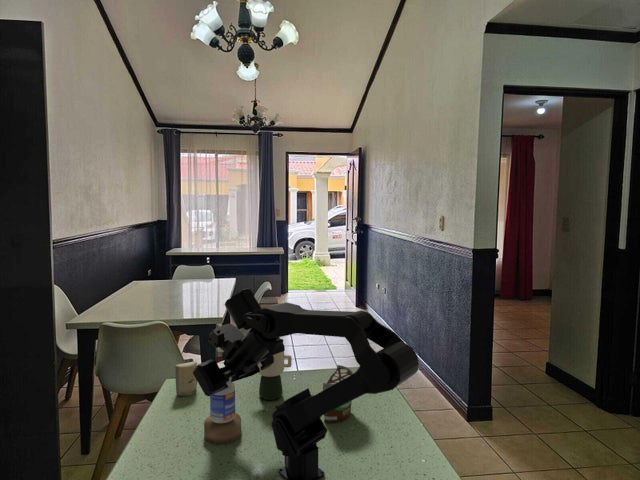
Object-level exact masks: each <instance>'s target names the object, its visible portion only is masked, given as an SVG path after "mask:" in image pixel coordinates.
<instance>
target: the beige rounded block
mask: <svg viewBox="0 0 640 480" xmlns="http://www.w3.org/2000/svg"><path fill="white" fill-rule="evenodd" d="M197 365H198V362H197V361H191V362H186V363H177V364H176V365H175V390H176V392H175V393H176V396H177V397H186V396H187V397H188V396H192V395H193V394H194V393H196V392H197V387H198V386H197V385H198V382H197V380H196V378H195V376H194V374H193V370H194V369H195V367H196V366H197Z"/></svg>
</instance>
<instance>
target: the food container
mask: <svg viewBox="0 0 640 480" xmlns="http://www.w3.org/2000/svg"><path fill="white" fill-rule="evenodd" d="M354 373H355V372H353V370H352V369H351V368H350V367H347V366H344V365H340V364H336V369H335V371H334V372H333V373H332V374H331V376H330V377H329V378H328V381H327V382H325V383H324V382H323V383H322V391H323V390H325V389H327V388H329V387H331V386H332V385H334V384H336V383H338V382H340V381H341V380H343V379H345V378H347V377H349V376H350V375H352V374H354ZM352 401H353V400H352ZM352 401H350V402H348V403H346V404H344V405H342V406H340V407H338V408H336V409H334V410H332V411H330V412H328V413H326V414H324V415H323V423H324V424H325V423H327V424H337V423H339V424H340V423H342V422H344V421H347V420H348V419H350V417H351V411H352Z"/></svg>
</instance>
